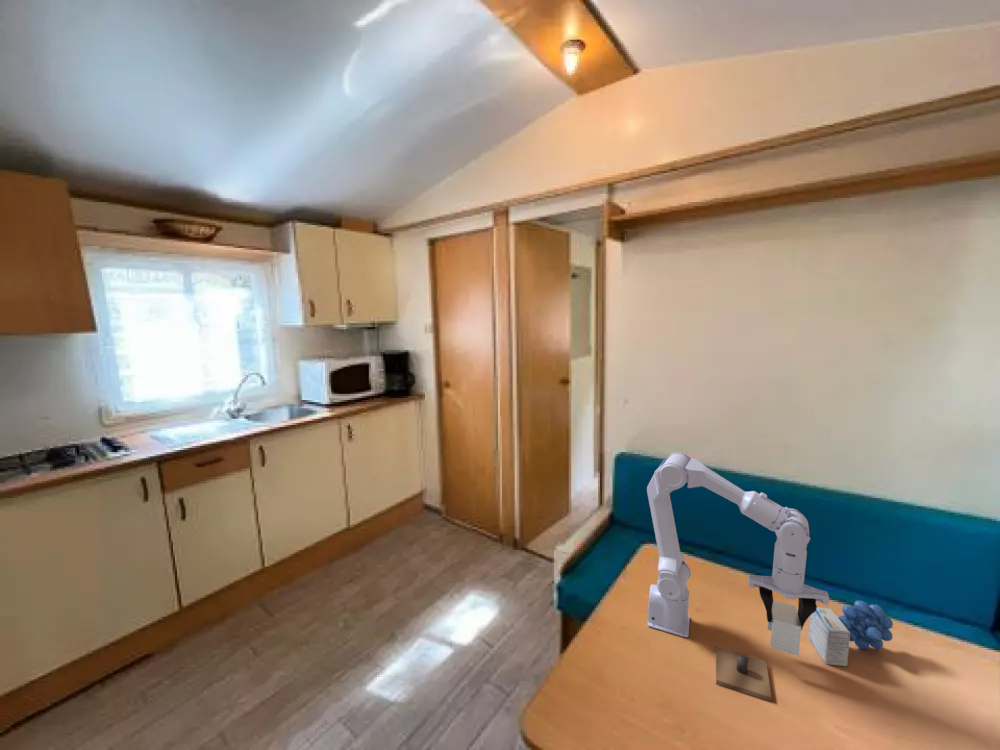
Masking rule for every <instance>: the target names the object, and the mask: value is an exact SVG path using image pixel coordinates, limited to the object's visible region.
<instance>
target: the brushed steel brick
mask: <svg viewBox="0 0 1000 750" xmlns="http://www.w3.org/2000/svg"><path fill="white" fill-rule="evenodd" d="M767 631H771V633H770V634H771V635H770V649H772V650H776V651H779V652H782V653H785V654H791V655H792V656H793V655H794V656H796V657H799V656H800V655H799V654H800V653H799V652H800V643H801V635H802V633H801V632H802V630H801V624H800V620H799V616H798V609H797V605H795V604H789V603H787V602H786V603H785V602H782V601H776V600H773V605H772V620H771V622H768V621H767Z"/></svg>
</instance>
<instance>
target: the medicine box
mask: <svg viewBox="0 0 1000 750" xmlns="http://www.w3.org/2000/svg"><path fill="white" fill-rule="evenodd" d="M838 617H839V616H838V615H836V613H835V612H834V611H833V609H832V608H826V607H820V606H819V607H818V606H817V609H816V611H815V612H814V613H812V614H811V615H810V616H809V625H808V634H807V636H808V640H809V641H810V642H811V644H812V645H813V647H814V648H815V650H816V652H817V653H818V654H819V655H820V657H821V659H822V660H823V662H824V663H825V664H826V665H831V666H832V665H833V666H841V667H847V666H848V661H849V660H848V659H849V650H850V642H851V641H850V632H849V631H848V629H847V628H846V627H845V626H844V624H843V623H842V622H841V621H840V619H839V618H838Z"/></svg>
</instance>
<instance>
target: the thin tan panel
mask: <svg viewBox="0 0 1000 750" xmlns="http://www.w3.org/2000/svg"><path fill="white" fill-rule="evenodd" d="M715 683H716V685H718V686H722V687H724V688H728V689H730V690H734V691H737V692H740V693H743V694H746V695H748V696H751V697H754V698H755V697H756V698H758V699H761V700H764V701H766V702H769V703H770V702H772V693H771V685H770V679H769V671H768V665H767V661H766V660H763V659H760V658H757V657H754V656H750V655H747V654H744V653H740V652H736V651H733V650H730V649H726V648H723V647H719V646H717V645H716V646H715Z"/></svg>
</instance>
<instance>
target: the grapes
mask: <svg viewBox="0 0 1000 750" xmlns="http://www.w3.org/2000/svg"><path fill="white" fill-rule="evenodd" d="M853 605H854V606H852V605H850V604H845V605H842V608H841V610H842V611H841V612H842V613H843V614H842V615H839V616H837V617H838V618H839V619H840V621H841V622H842V623H843V624H844V626H845V627H846V628H847V629H848V631H849V632H850V641H849V642H854V644H855V646H856V647H858V648H859V649H862V650H867V649H869V647H870V646H871V648H873V649H875V650H880V649H882V648H884V642H890V641H892V639H893V633H892V631H891V630H890V629H892V628H893V627H894V624H893V623H894V622H893V621H892V619H891V618H890V617H889V616H888V615H885V611H884V610H883V608H882V607H881V606H880V605H878V604H870V605H869V604H868V603H867V602H865V601H864V600H856V601H855V602H854V604H853Z"/></svg>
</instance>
